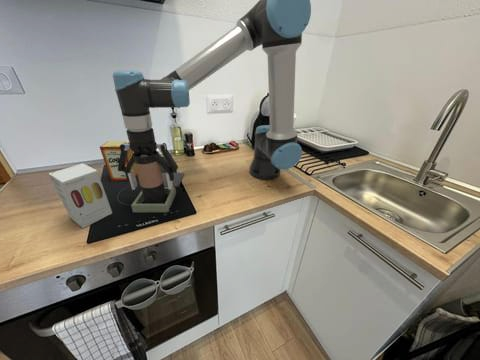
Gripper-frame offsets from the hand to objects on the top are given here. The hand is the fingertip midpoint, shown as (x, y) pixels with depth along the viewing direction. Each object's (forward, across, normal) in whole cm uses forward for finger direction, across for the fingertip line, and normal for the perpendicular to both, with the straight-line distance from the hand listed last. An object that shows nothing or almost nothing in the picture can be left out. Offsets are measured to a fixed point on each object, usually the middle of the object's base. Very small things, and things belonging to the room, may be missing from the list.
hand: (153, 187), depth 71 cm
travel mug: (+7, 0, 0) cm, 7 cm away
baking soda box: (+7, +20, -20) cm, 29 cm away
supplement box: (+7, +19, +8) cm, 21 cm away
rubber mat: (+6, 0, -16) cm, 18 cm away
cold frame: (+6, 0, 0) cm, 6 cm away
